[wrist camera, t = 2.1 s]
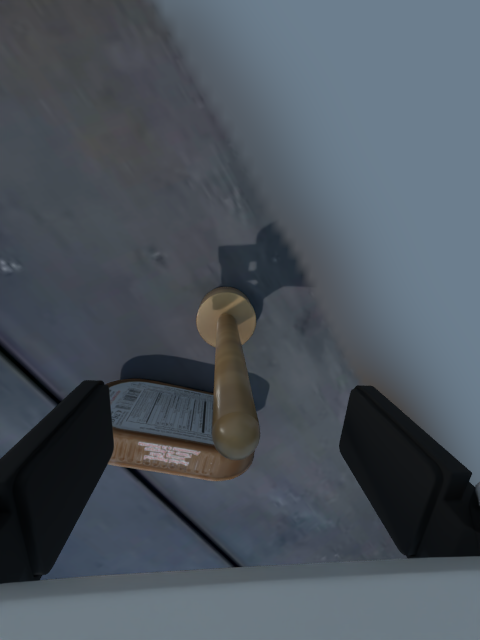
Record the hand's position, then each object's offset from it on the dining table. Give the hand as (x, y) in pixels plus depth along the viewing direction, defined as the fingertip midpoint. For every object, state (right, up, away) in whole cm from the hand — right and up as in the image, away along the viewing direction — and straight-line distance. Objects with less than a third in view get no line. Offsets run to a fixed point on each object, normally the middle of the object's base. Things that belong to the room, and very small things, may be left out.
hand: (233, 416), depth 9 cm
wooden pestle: (-1, +4, +14) cm, 14 cm away
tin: (-6, -4, +16) cm, 17 cm away
